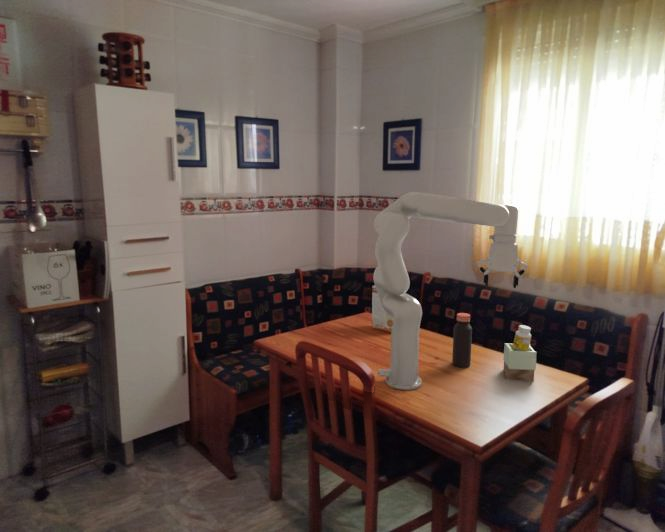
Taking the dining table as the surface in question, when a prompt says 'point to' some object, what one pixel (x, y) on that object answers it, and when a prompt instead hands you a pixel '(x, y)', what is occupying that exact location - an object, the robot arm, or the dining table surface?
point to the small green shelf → (519, 358)
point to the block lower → (518, 374)
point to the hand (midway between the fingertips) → (500, 286)
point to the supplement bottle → (522, 339)
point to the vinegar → (462, 341)
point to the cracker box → (380, 314)
